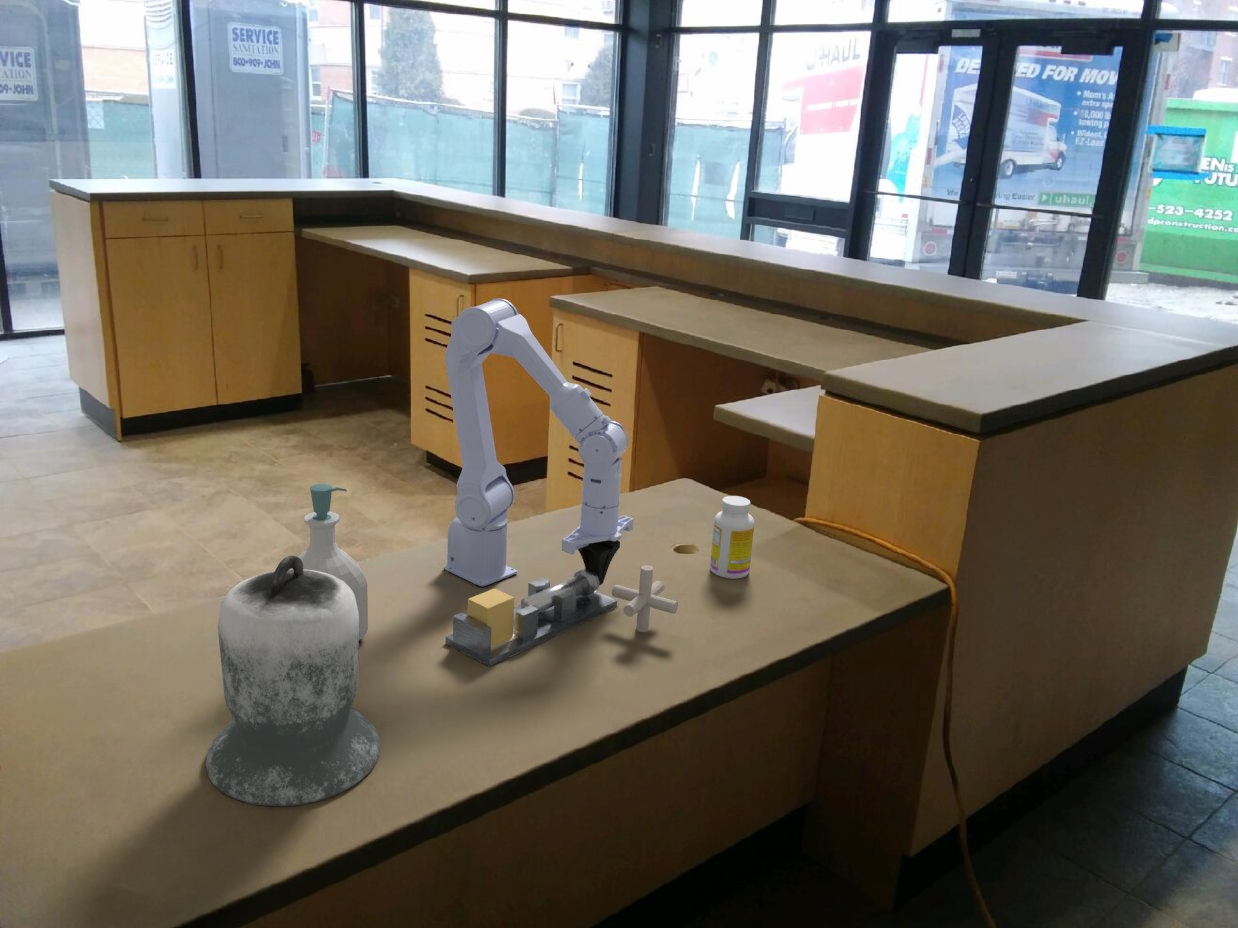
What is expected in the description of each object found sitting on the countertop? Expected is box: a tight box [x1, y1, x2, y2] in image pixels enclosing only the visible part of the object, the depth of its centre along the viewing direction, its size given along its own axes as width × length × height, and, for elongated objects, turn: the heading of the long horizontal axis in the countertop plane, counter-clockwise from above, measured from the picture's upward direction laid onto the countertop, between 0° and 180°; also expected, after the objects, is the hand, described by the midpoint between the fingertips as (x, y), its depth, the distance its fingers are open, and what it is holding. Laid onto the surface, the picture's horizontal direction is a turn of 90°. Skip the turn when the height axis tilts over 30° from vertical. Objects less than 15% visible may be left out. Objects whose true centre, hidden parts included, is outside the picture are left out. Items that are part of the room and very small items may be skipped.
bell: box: [205, 555, 381, 807], centre depth 120 cm, size 19×19×25 cm
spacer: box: [467, 588, 515, 645], centre depth 151 cm, size 4×5×6 cm
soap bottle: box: [289, 483, 369, 641], centre depth 147 cm, size 10×10×23 cm
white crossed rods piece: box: [611, 564, 679, 633], centre depth 158 cm, size 10×10×10 cm
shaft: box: [520, 567, 600, 613], centre depth 161 cm, size 4×14×4 cm, turn 140°
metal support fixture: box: [445, 576, 618, 667], centre depth 158 cm, size 9×27×5 cm, turn 140°
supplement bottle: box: [709, 495, 755, 580], centre depth 179 cm, size 7×7×13 cm
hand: (595, 582), depth 168 cm, fingers closed
